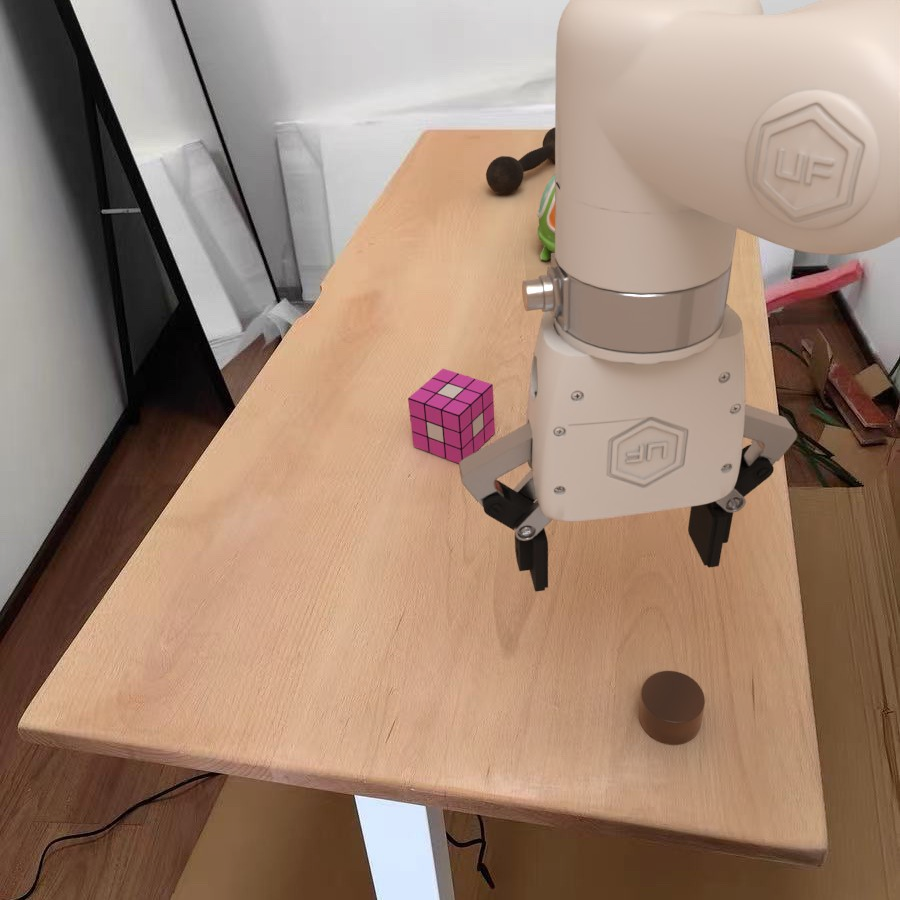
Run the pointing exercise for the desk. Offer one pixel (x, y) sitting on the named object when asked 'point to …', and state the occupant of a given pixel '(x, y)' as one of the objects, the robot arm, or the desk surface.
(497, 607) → the desk surface
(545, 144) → the dumbbell
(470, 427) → the puzzle toy
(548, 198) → the turtle holder
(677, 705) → the dark brown cylinder
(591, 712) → the desk surface
